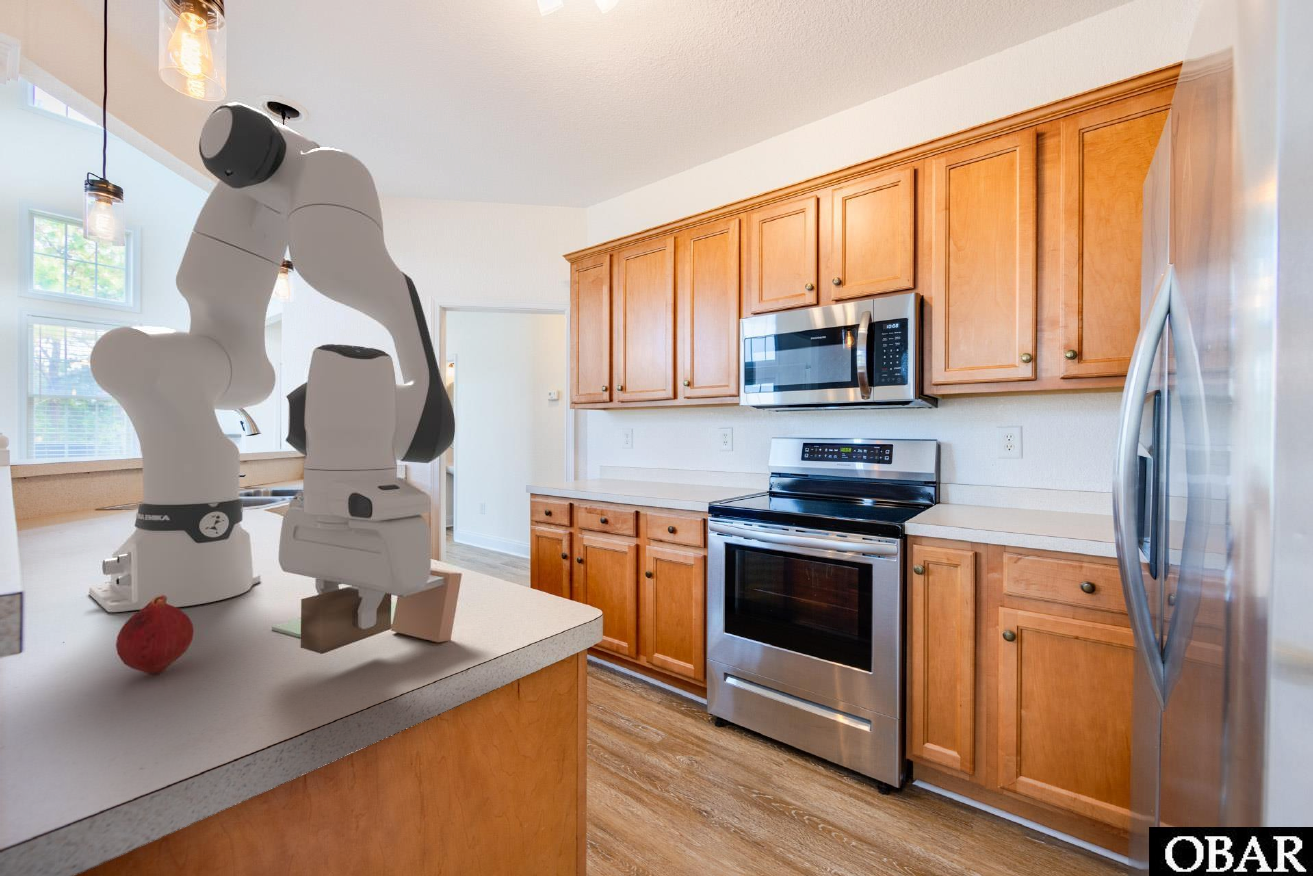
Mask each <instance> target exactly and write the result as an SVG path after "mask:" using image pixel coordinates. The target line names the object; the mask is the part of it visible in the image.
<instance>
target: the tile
mask: <svg viewBox="0 0 1313 876" xmlns="http://www.w3.org/2000/svg"><path fill="white" fill-rule="evenodd" d="M430 575H433V576H438V577H444V578H445V581H444V585H440V586H437V587H434V588H431V589H427V590H424V591H421V592H418V593H414V594H411V595H408V596H405V597H400V596H396V597H397V598H396V602H395V603H396V607H395V613H394V618H393V623H392V627H391V629H390V631H391V632H394V633H398V634H403V635H406V636H411V637H415V638H419V639H423V640H428V641H430V642H431V641H432V642H435V643H442V642H449V641H452V640H451V639H452V634H453V629H454V628H453V627H454V622H455V617H456V612H457V611H456V610H457V606H458V605H457V604H458V600H459V595H460V594H459V593H460V587H461V582H462V581H461V580H462V576H463V573H462V572H457V571H450V570H444V569H438V568H432V567H431V570H430Z"/></svg>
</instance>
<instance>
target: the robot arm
mask: <svg viewBox="0 0 1313 876" xmlns="http://www.w3.org/2000/svg"><path fill="white" fill-rule="evenodd" d="M198 145H199V146H198V151H199V155H200V158H201V161H202V163H203V165H204V167H205V169H206V170H207V171H209V173H210V174H212V175H213V176H215V178H217V180H218V179H219V181H218V182H217V184H216V185H215V186H214V188H213V189H212V191H211V193H210V194H209V195H208V198H206V201H205V202H204V205H203V206H202V208H201V209H200V212H199V214H198V216H197V219H196V222H195V224H194V227H193V229H192V232H191V234H190V237H189V238H188V239H189V240H188V242H187V246H186V248H185V251H184V253H183V256H182V259H181V262H180V265H179V268H178V270H177V274H176V275H175V285H176V288H177V290H178V292H179V294H180V295H181V296H182V297H183V298H184V299H185V300H186V302H187V304H188V309H189V315H190V323H189V324H190V326H189V331H188V332H186V331H181V330H176V329H172V328H168V327H163V326H143V325H142V326H141V325H140V326H121V327H120V326H119V327H116V328H112V329H110V330H109V331H107V332H105V333H104V334H102V335H101V336H100V337H99V338H98V339H97V341H96V342H95V344H94V346H93V348H92V349H91V353H90V356H89V357H90V358H89V367H90V370H91V374H92V376H93V379H94V380H95V382H96V384H97V385H98V386H99V387H100V388H101V389H102V390H103V391H104V392H106V393H107V394H108V395H109V396H111V397H112V398H113V399H114V400H115V401H116V402H118V404H119V405H120V406H121V407H122V409H123V410H124V412H125V413H126V414H127V416H128V418H129V420H130V422H131V424H132V426H133V428H134V431H135V433H136V435H137V439H138V441H139V445H140V449H141V450H140V451H141V457H142V458H141V459H142V502H140V504H139V506H138V507H137V508H138V509H137V512H136V514H135V523H134V527H135V528H136V529H135V530H134V532H133V533H132V534H131V535H130V536H129V537H127V539H126V540H125V541H124V542H123V543H122V544H121V545H120V546H119V547H118V548H117V550H114V552H113V553H112V556H111V557H110V558H104V559H103V561H102V565H101V567H102V568H101V569H102V570H101V571H102V574H103V575H104V576H108V575H109V576H110V581H107V582H102V583H99V584H95V585H92V586H90V587H89V590H88V595H89V596H91V597H92V598H93V599H94V601H96V602H97V603H98V604H99V605H100V606H101V607H102V608H103V609H104V610H106V612H108V613H118V612H119V613H120V612H128V611H137V610H138V611H139V610H141V609H143V608H144V607H145V606H146V605H148V604H149V603H150V601H151V600H152V599H153V598H154V597H156V596H158V595H164V596H166V597H167V600H166V604H169V605H171V606H174V607H176V608H181V607H189V606H196V605H201V604H208V603H212V602H216V601H221V600H226V599H229V598H232V597H237V596H239V595H241V594H244V593H245V592H247V591H249V590H251V588H252V586H253V585H255V584H258V583H260V582H261V581H262V579H261V574H259V573H254V568H253V559H252V558H253V557H252V556H253V555H252V544H251V543H252V542H251V534H250V533H249V531H247V530H246V529H245V528H244V527H242V525H241V523H240V522H243V513H244V506H243V499H242V498H240V465H241V464H240V462H241V461H240V459H241V458H240V456H241V455H240V450H239V448H238V446H237V445H236V444H235V442H234V441H232V440H231V439H230V438H229V437H227V436H226V434H225V433H224V432H223V430H222V428H221V426H220V423H219V421H218V418H217V414H216V410H221V411H222V410H223V411H232V410H233V411H234V410H238V409H245V408H249V407H253V406H256V405H260V404H261V403H263V402H264V401H267V399H268V398H269V397H270V396H271V395H272V393H273V391H274V389H275V386H276V371H275V369H274V366H273V365H272V363H271V361H270V359H269V357H268V355H267V351H266V339H265V338H266V337H265V334H266V333H265V331H266V330H265V328H266V326H265V325H266V319H267V318H266V317H267V312H268V307H269V304H270V300H271V298H272V295H273V292H274V289H275V285H276V283H277V280H278V278H279V274H280V271H281V269H282V266H283V262H284V259H285V256H286V252H287V251H289V258H290V261H291V263H292V266H293V269H295V271H296V272H297V273H298V275H299V276H300V277H301V279H303V281H305V282H306V283H307V284H308V286H310V287H312V288H313V289H314V290H315V291H316V292H318V293H320V294H321V295H323V296H325V297H326V298H328V299H330V300H332V301H334V302H336V303H339V304H342V305H344V306H346V307H349V308H351V309H354V310H356V311H358V312H360V313H362V314H364V315H366V316H368V317H369V318H371V319H373V320H374V321H376V322H377V323H379V324H380V325H381V326H383V327H384V328H385V330H387V331H388V333H389V334H390V336H391V338H392V341H393V344H394V348H395V351H396V356H397V360H398V364H399V367H400V372H401V376H402V379H403V382H404V383H401V384H397V381H396V371H395V366H394V361H393V358H392V356H391V355H390V354H388V353H387V352H385V351H384V350H382V349H378V348H375V347H365V346H358V345H348V344H333V343H330V344H329V343H328V344H327V343H326V344H322V345H320V346H317V347H315V348H314V349H313V351H312V355H311V361H310V364H309V365H310V366H309V369H308V375H307V381H306V382H304V383H303V384H301V385H300V386H298V387H296V388H295V389H294V390H292V391H291V392H290V393H289V394H287V395H286V396H285V398H287V401H288V422H287V423H288V426H287V437H286V439H285V442H286V443H288V444H289V445H290V446H291V447H292V448H293V449H295V450H296V451H298V452H299V453H300V454H302V455H303V456H304V457H305V459H304V463H303V478H302V479H303V481H302V483H303V486H302V487H303V488H302V489H301V490H298V491H297V492H296V494H295V495H294V496H293V497H292V499H290V501H289V503H288V504H289V505H288V509H287V510H286V511H285V513H284V515H283V517H282V522H281V528H280V534H279V535H280V537H279V543H278V545H279V546H278V562H279V566H280V568H281V570H282V571H283V572H285V573H287V574H289V573H290V574H294V575H299V576H304V577H308V578H313V579H315V585H314V586H315V589H316V592H317V595H319V594H323V593H327V592H331V591H335V590H338V589H340V588H339V587H340V586H339V585H346V586H349V587H350V586H355V587H359V597H362V601H361V603H360V606H359V609H358V610H355V611H352V618H353V621H352V625H353V626H354V627H358V628H362V629H366V628H369V627H372V626H374V625H375V624H376V612H377V608H378V606H379V605H380V603H381V601H382V599H383V597H384V595H385V593H388V594H393V595H392V596H395V595H403V594H406V593H410V592H413V591H416V590H419V589H422V588H423V587H424V586H425V584H426V583H427V581H428V580H429V577H430V570H431V568H432V537H431V528H430V525H429V523H428V521H427V519H426V517H423V516H422V515H427V514H429V513H430V511H431V508H432V506H431V505H432V504H431V503H432V501H431V497H430V495H429V494H428V493H426V492H424V491H422V490H421V489H419V488H417V487H416V486H414V485H412V484H410V483H409V482H407V481H405V479H403V478H401V477H398V462H397V461H400V462H407V463H419V464H429V463H431V462H432V461H434V460H436V459H437V458H439V457H440V456H441V455H443V453H445V452H446V451H447V450H448V449H449V447H451V446H452V444H453V442H454V440H455V434H456V419H455V415H454V414H455V413H454V410H453V409H454V407H453V405H452V403H451V399H450V397H449V396H450V395H448V394H449V393H448V392H447V389H446V387H445V385H444V382H443V380H442V375H441V372H440V369H439V365H438V362H437V357H436V354H435V348H434V346H433V342H432V339H431V335H430V331H429V328H428V323H427V320H426V319H427V318H426V316H425V312H424V309H423V306H422V302H421V299H420V296H419V293H418V290H417V288H416V285H415V284H414V281H413V280H412V278H411V277H410V276H408V274H406V273H405V272H403V271H401V269H400V268H399V267H398V266H397V264H396V263H395V262H394V260H393V259H392V257H391V256H390V253H389V251H388V249H387V247H386V243H385V236H384V222H383V214H382V209H381V205H380V204H381V203H380V199H379V196H378V192H377V189H376V188H377V187H376V184H375V182H374V177H373V176H372V174H371V172H370V170H369V169H368V168H367V167H366V165H365V164H364V163H363V162H362V161H360V159H358V158H356V157H355V156H354V155H352V154H350V153H348V152H346V151H343V150H341V149H335V148H332V147H331V148H330V147H323V146H321V145H320V144H318V143H317V142H315V141H313V140H310V139H308V138H307V137H304V136H303V135H301V134H300V133H298V132H296V131H294V130H292V129H291V128H289V127H287V126H285V125H283V124H281V123H279V122H277V121H275V120H273V119H271V118H270V116H269V115H268V114H266V113H264V112H263V111H260V110H258V109H256V108H254V107H252V106H248V105H246V104H242V103H239V102H231V103H227V104H221V105H220V106H218V107H217V108H215V109H214V110H213V112H211V114H210V115H209V116H208V118H207V119H206V121H205V122H204V125H203V127H202V130H201V132H200V137H199V143H198ZM287 249H288V250H287Z"/></svg>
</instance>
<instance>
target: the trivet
mask: <svg viewBox="0 0 1313 876" xmlns="http://www.w3.org/2000/svg"><path fill="white" fill-rule="evenodd" d="M395 607H396V602H392V601H391V628H392V623H393V618H394V613H395ZM271 631H276V632H279V633H281V634H282V633H283V634H285V635H290V636H293V637H295V638H296V637H297V638H299V639H301V617H300V618H297V619H293V620H291V621H286V622H282V623H280V624H276V625H272V626H271Z"/></svg>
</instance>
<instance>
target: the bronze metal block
mask: <svg viewBox="0 0 1313 876" xmlns="http://www.w3.org/2000/svg"><path fill="white" fill-rule="evenodd" d="M444 581H445V578H444V577H438V576H433V575H430V577H429V580H428V581H427V583H426V584H425V586H424V587H423V588H422V589H419V590H416V591H413V592H410V593H406V594H403V595H393V594H388V593H385V595H384V597H383V599H382V601H381V603H380V605H379V606H378V608H377V612H376V624H375V625H374V626H372V627H369V628H366V629H362V628H358V627H354V626H353V625H352V621H353V618H352V611H355V610H358V609H359V606H360V603H361V601H362V597H359V587H355V586H350V585H349V586H347V587H343V588H339V589H338V590H335V591H331V592H327V593H323V594H319V595H318V594H316V595H312V596H308V597H305V598H301V599H300V618H301V638H300V648H301V649H304V650H306V651H307V650H308V651H310V652H313V653H316V654H317V653H318V654H320V655H323V654H326V653H328V652H332V651H334V650H336V649H340V648H342V647H345V646H348V645H350V644H355V643H357V642H359V641H361V640H364V639H368V638H370V637H372V636H376V635H378V634H381V633H384V632H386V631H391V628H392V627H391V602H392V596H395V597H398V596H400V597H405V596H408V595H411V594H414V593H418V592H421V591H424V590H427V589H431V588H434V587H437V586H440V585H444Z"/></svg>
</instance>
